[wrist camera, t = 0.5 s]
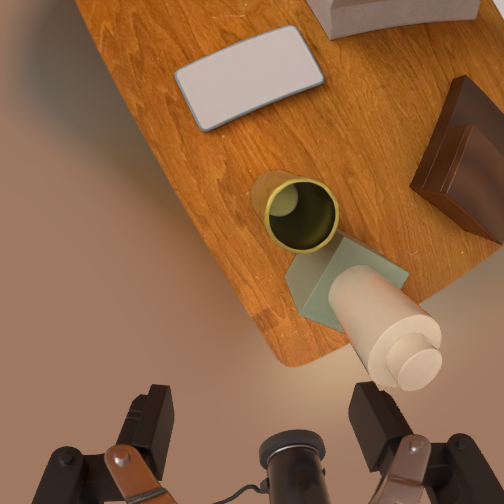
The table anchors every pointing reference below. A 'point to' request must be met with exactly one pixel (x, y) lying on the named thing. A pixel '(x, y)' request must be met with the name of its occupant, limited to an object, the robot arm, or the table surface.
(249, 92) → the smartphone
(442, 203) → the brown box
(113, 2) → the table surface
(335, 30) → the barrier
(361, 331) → the cream stepped cylinder
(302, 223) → the vase
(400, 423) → the robot arm
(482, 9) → the table surface
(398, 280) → the cube
